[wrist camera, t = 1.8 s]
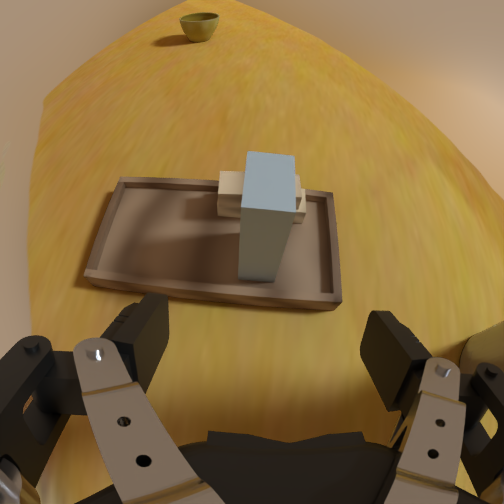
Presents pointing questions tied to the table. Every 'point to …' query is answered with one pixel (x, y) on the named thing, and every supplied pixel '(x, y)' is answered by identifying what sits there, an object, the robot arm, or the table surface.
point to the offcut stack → (233, 191)
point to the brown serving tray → (209, 248)
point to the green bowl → (199, 26)
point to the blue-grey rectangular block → (265, 214)
